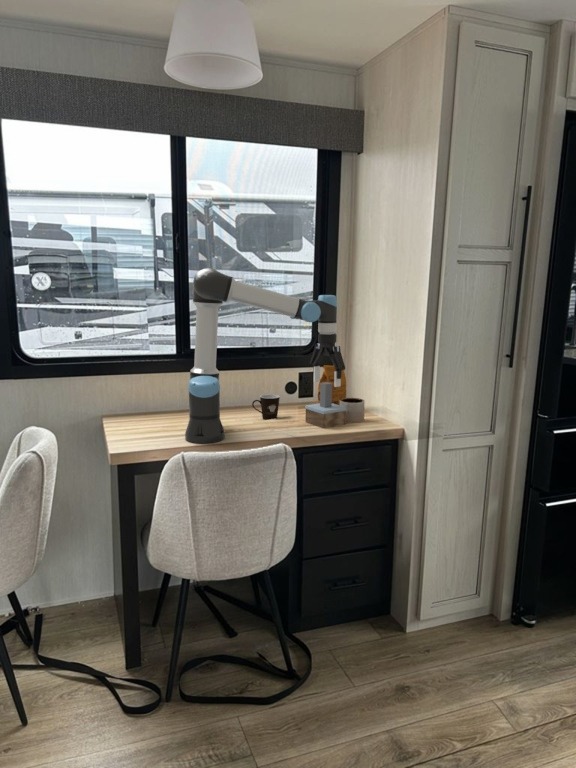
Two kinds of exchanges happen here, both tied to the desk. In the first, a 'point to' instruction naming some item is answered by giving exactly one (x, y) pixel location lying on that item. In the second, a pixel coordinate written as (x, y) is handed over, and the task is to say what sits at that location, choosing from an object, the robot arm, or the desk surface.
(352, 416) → the planter
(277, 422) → the desk surface
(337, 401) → the coffee package
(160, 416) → the desk surface
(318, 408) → the lid
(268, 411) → the coffee mug
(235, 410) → the desk surface
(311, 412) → the crate
